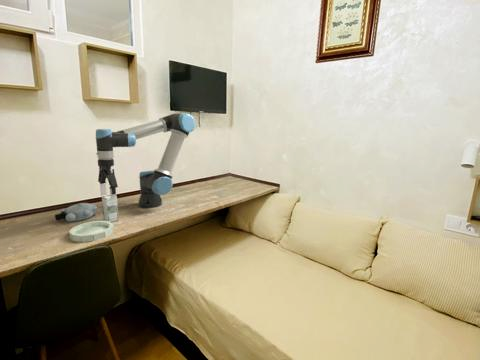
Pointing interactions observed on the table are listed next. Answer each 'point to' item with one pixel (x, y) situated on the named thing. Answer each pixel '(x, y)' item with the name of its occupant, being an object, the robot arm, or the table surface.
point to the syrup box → (109, 209)
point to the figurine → (77, 212)
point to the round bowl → (91, 231)
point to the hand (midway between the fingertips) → (108, 197)
